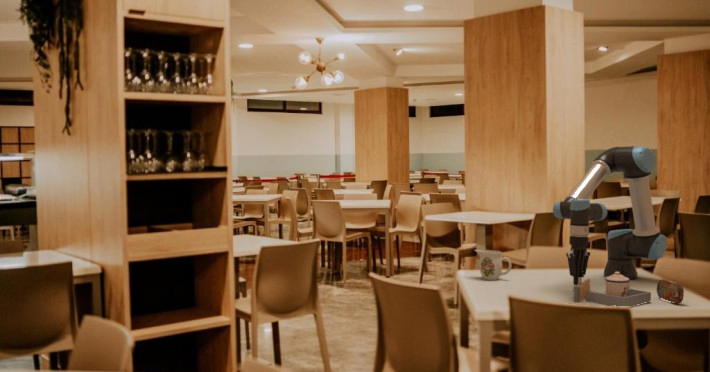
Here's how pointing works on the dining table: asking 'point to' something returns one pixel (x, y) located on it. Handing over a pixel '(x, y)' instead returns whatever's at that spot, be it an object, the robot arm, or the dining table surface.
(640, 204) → the robot arm
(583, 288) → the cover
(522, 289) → the dining table surface
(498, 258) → the pitcher
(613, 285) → the teacup with lid
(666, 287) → the tin
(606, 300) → the grey tray
